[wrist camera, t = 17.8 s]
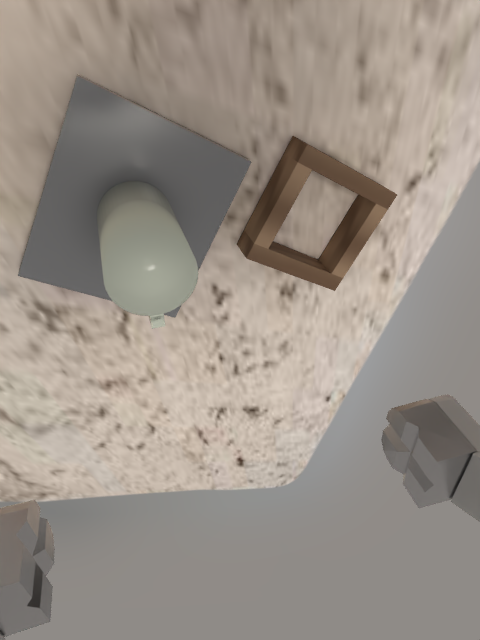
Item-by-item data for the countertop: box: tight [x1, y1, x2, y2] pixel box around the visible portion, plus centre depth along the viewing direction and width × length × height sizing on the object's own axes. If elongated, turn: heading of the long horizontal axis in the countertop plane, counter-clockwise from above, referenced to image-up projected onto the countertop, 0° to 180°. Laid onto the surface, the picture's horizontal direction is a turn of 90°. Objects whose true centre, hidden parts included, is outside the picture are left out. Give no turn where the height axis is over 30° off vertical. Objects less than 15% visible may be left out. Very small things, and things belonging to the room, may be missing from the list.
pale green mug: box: [97, 181, 198, 329], centre depth 33 cm, size 8×6×10 cm
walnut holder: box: [237, 136, 397, 291], centre depth 40 cm, size 10×10×3 cm
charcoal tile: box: [18, 74, 251, 317], centre depth 36 cm, size 16×14×1 cm
